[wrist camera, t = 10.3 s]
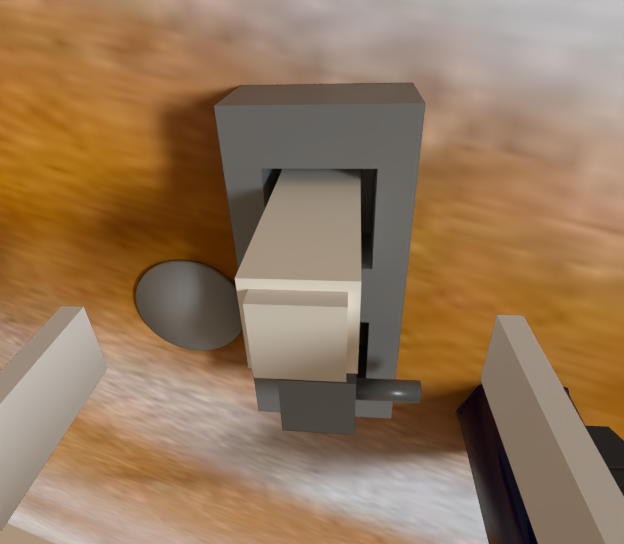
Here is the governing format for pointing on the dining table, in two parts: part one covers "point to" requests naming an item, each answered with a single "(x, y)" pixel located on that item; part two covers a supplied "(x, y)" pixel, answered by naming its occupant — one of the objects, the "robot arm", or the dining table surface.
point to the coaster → (189, 305)
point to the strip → (374, 221)
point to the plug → (304, 278)
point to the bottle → (494, 474)
